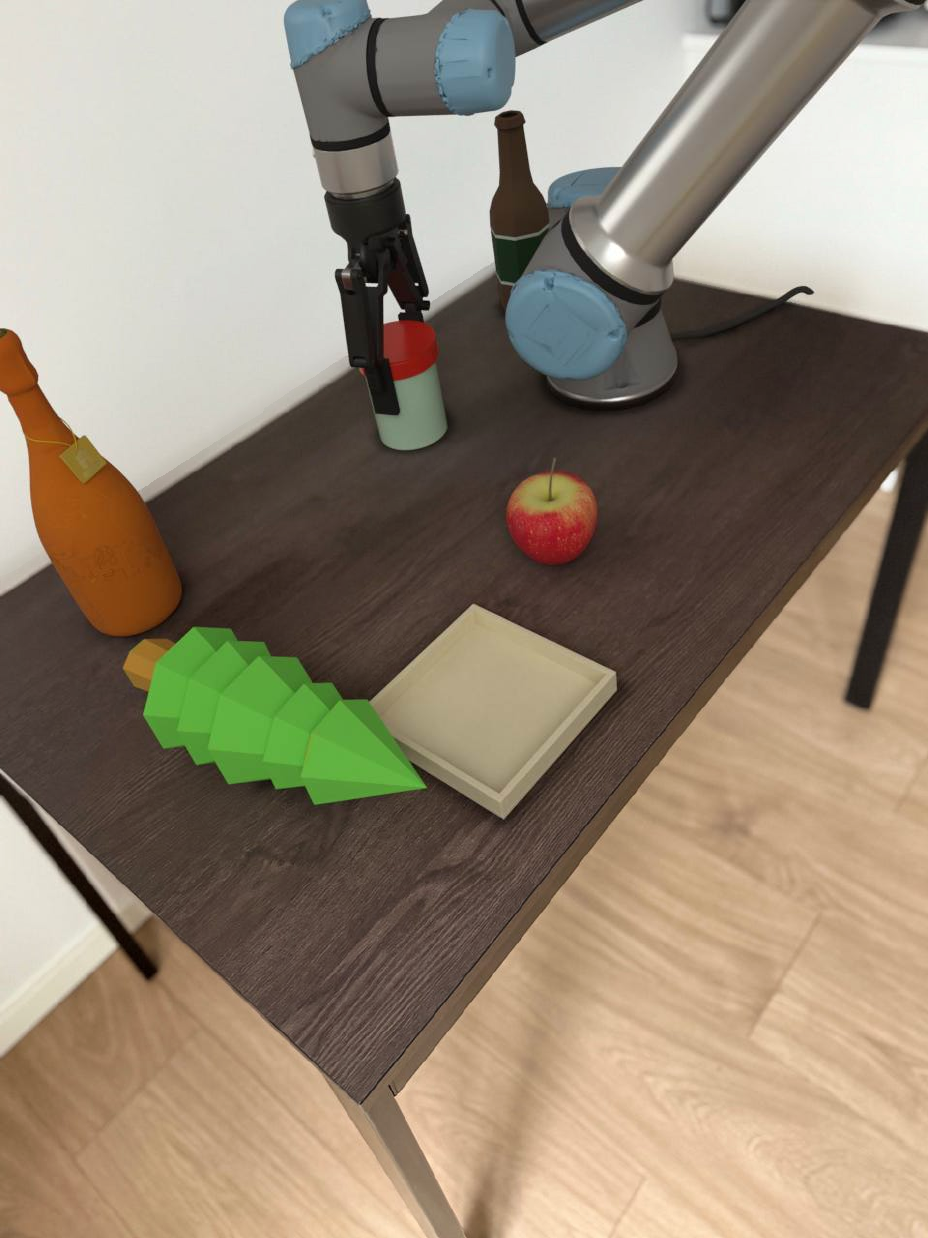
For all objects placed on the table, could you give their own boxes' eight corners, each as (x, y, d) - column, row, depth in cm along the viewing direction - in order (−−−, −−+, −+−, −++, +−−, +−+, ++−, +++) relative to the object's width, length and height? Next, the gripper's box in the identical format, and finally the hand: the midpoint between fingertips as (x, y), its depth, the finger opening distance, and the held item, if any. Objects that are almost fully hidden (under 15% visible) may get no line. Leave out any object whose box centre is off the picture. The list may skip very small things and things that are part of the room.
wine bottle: (101, 658, 91) (-66, 381, 70) (82, 599, 97) (-76, 331, 76) (198, 615, 93) (65, 335, 72) (173, 561, 100) (44, 290, 79)
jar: (411, 404, 115) (393, 320, 107) (461, 421, 111) (446, 335, 103) (365, 438, 111) (344, 353, 103) (415, 457, 107) (397, 370, 99)
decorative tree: (136, 579, 79) (429, 691, 64) (217, 634, 88) (488, 743, 73) (62, 701, 76) (351, 849, 61) (154, 745, 85) (423, 881, 70)
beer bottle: (553, 318, 125) (536, 122, 108) (495, 320, 127) (470, 128, 110) (560, 289, 130) (546, 99, 113) (505, 292, 132) (482, 105, 115)
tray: (476, 621, 87) (473, 603, 85) (617, 690, 79) (616, 671, 77) (361, 731, 80) (355, 713, 78) (503, 820, 71) (500, 802, 70)
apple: (612, 533, 93) (608, 448, 86) (577, 590, 88) (570, 505, 81) (535, 517, 96) (526, 434, 89) (498, 570, 91) (485, 487, 84)
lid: (396, 331, 109) (392, 313, 107) (455, 349, 104) (452, 330, 103) (341, 369, 105) (337, 350, 103) (400, 389, 100) (396, 370, 98)
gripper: (371, 141, 99) (410, 338, 115) (274, 232, 86) (334, 441, 101) (437, 140, 97) (468, 341, 113) (348, 233, 83) (397, 447, 99)
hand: (404, 388), depth 107 cm, fingers closed on lid, 9 cm apart
